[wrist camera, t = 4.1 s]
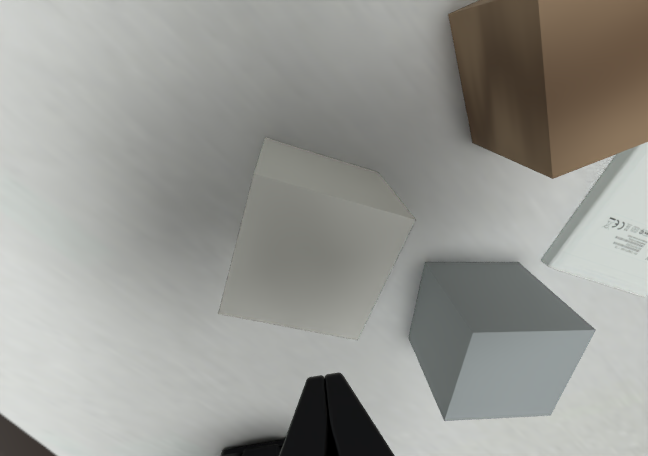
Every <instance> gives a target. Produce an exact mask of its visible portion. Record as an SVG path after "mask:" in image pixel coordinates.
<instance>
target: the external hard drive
mask: <svg viewBox="0 0 648 456" xmlns="http://www.w3.org/2000/svg"><path fill="white" fill-rule="evenodd" d="M541 261H542V262H544V263H545V264H546V265H547V266H548V267H550V268H553V269H555V270H558V271H561V272H565V273H568V274H571V275H574V276H578V277H581V278H584V279H587V280H590V281H594V282H597V283H600V284H603V285H606V286H610V287H613V288H616V289H619V290H622V291H625V292H629V293H632V294H635V295H638V296H641V297H646V296H648V142H646V143H643V144H641V145H638V146H636V147H633V148H631V149H628V150H625V151H623V152H620V153H618V154H616V156H615V157H614V159H613V160H612V161H611V163H610V164H609V165H608V167H607V168H606V170H605V171H604V172H603V174H602V175H601V177H600V178H599V179H598V181H597V182H596V184H595V185H594V186H593V188H592V189H591V191H590V192H589V193H588V195H587V196H586V198H585V199H584V200H583V202H582V203H581V205H580V206H579V207H578V209H577V210H576V212H575V213H574V214H573V216H572V217H571V219H570V220H569V221H568V223H567V224H566V226H565V227H564V228H563V230H562V231H561V233H560V234H559V235H558V237H557V238H556V240H555V241H554V242H553V244H552V245H551V246H550V248H549V249H548V251H547V252H546V254H545V255H544V256H543V258H542V259H541Z"/></svg>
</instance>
